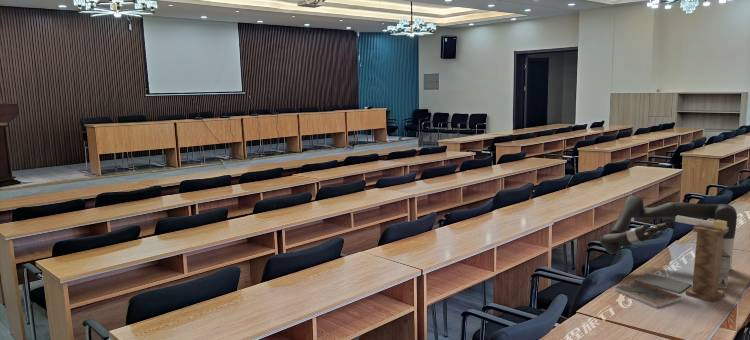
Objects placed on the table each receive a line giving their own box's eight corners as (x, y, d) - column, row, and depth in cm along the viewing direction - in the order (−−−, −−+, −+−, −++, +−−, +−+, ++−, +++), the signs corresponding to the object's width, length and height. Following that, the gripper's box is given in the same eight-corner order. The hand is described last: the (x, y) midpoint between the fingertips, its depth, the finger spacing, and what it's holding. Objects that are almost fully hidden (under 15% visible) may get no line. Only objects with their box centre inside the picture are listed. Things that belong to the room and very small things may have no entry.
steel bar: (674, 221, 250) (675, 214, 250) (677, 220, 253) (678, 212, 252) (723, 230, 236) (724, 223, 235) (726, 228, 238) (727, 221, 237)
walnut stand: (685, 294, 247) (691, 227, 242) (695, 286, 255) (701, 221, 249) (714, 302, 238) (721, 233, 233) (724, 294, 246) (730, 227, 240)
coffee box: (705, 280, 263) (708, 248, 260) (719, 281, 261) (722, 249, 258) (712, 287, 254) (715, 255, 251) (727, 288, 252) (731, 256, 249)
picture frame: (614, 291, 254) (655, 309, 235) (615, 286, 254) (656, 303, 234) (639, 284, 261) (680, 301, 242) (639, 280, 261) (681, 296, 241)
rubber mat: (633, 280, 264) (633, 279, 264) (646, 273, 273) (646, 272, 273) (679, 293, 248) (679, 292, 248) (691, 285, 257) (691, 283, 257)
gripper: (629, 230, 262) (660, 220, 250) (642, 224, 271) (672, 214, 259) (636, 245, 261) (668, 235, 249) (648, 238, 270) (680, 228, 258)
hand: (670, 224), depth 254 cm, fingers open, 8 cm apart
